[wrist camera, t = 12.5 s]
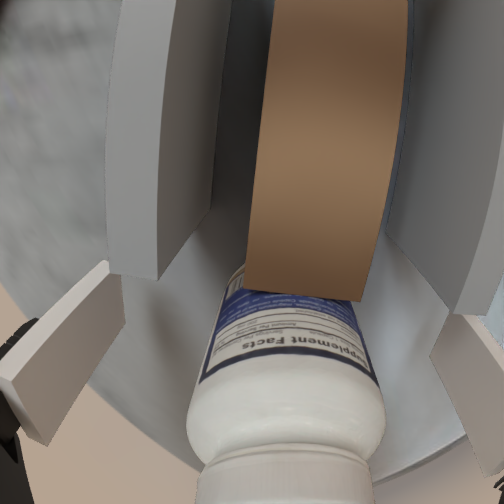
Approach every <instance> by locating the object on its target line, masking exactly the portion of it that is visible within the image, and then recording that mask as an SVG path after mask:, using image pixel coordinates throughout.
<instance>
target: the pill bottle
mask: <svg viewBox="0 0 504 504" xmlns="http://www.w3.org/2000/svg"><path fill="white" fill-rule="evenodd" d="M244 271H245V264H243V265H242V266H241V267H240V268H239V269H238V270H237V271H236V272H235V273H234V274H233V275H232V277H231V278H230V280H229V282H228V284H227V286H226V288H225V291H224V294H223V297H222V300H221V303H220V306H219V309H218V312H217V316H216V319H215V322H214V325H213V329H212V332H211V335H210V339H209V342H208V346H207V349H206V352H205V356H204V359H203V362H202V366H201V368H200V371H199V375H198V379H197V382H196V385H195V389H194V392H193V395H192V399H191V402H190V405H189V409H188V413H187V420H186V430H187V436H188V439H189V442H190V445H191V447H192V449H193V450H194V452H195V453H196V455H197V456H198V457H199V459H200V460H201V461H202V462H203V463H204V464H205V465H206V466H205V467H204V469H203V471H202V473H201V474H200V476H199V478H198V482H197V494H196V499H195V504H375V500H374V492H373V487H372V479H371V475H370V468H369V466H368V464H367V462H366V461H367V460H368V459H369V458H370V457H371V456H372V454H373V453H374V452H375V450H376V449H377V447H378V446H379V444H380V442H381V440H382V438H383V435H384V432H385V427H386V412H385V407H384V402H383V397H382V394H381V391H380V387H379V384H378V381H377V378H376V375H375V372H374V370H373V367H372V364H371V360H370V357H369V355H368V352H367V348H366V345H365V342H364V339H363V336H362V332H361V330H360V327H359V324H358V322H357V319H356V316H355V314H354V311H353V308H352V305H351V302H350V301H347V300H337V299H328V298H319V297H310V296H301V295H292V294H284V293H276V292H267V291H259V290H252V289H244V288H243V280H244Z"/></svg>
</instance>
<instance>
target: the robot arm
mask: <svg viewBox="0 0 504 504" xmlns="http://www.w3.org/2000/svg"><path fill="white" fill-rule="evenodd" d="M125 323H126V322H125V314H124V305H123V295H122V285H121V275H118V274H112V273H110V271H109V261H104V260H102V261H101V262H100V263H99V264H98V265H97V266H95V267H94V268H93V269H92V270H91V271H90V272H89V273H88V274H87V275H85V276H84V277H83V278H82V279H81V280H80V281H79V282H78V283H77V284H76V285H75V286H74V287H72V288H71V289H70V290H69V291H68V292H67V293H66V294H65V295H64V296H63V297H62V298H61V299H60V300H59V301H58V302H57V303H56V304H55V305H54V306H53V307H52V308H50V309H49V310H48V311H47V312H46V313H45V314H44V315H43V316H42V317H41V318H40V319H38V318H34V319H32V320H30V321H28V322H27V323H25V324H23V325H22V326H21V327H20V328H19V329H18V330H17V331H16V332H15V333H14V335H13V336H11V337H10V338H9V339H8V340H7V341H6V344H5V343H4V344H3V345H2V346H1V347H0V504H34V501H33V497H32V493H31V490H30V486H29V482H28V478H27V474H26V470H25V466H24V461H23V456H22V451H21V446H20V440H19V437H18V435H17V433H16V431H17V430H18V429H19V427H20V426H21V427H22V429H23V430H24V432H25V433H26V435H27V436H28V437H29V438H31V439H33V440H35V441H37V442H39V443H41V444H43V445H45V446H48V445H49V443H50V442H51V440H52V438H53V436H54V435H55V433H56V431H57V429H58V428H59V426H60V425H61V423H62V421H63V420H64V418H65V416H66V415H67V413H68V411H69V410H70V408H71V406H72V405H73V403H74V401H75V399H76V398H77V396H78V395H79V393H80V392H81V390H82V389H83V387H84V385H85V384H86V382H87V381H88V379H89V378H90V376H91V374H92V373H93V371H94V370H95V368H96V367H97V365H98V364H99V362H100V361H101V359H102V358H103V356H104V354H105V353H106V351H107V350H108V348H109V347H110V345H111V344H112V342H113V341H114V339H115V338H116V336H117V335H118V334H119V332H120V331H121V329H122V328H123V326H124V325H125ZM429 357H430V359H431V361H432V363H433V365H434V367H435V368H436V370H437V372H438V374H439V376H440V378H441V380H442V382H443V384H444V386H445V388H446V390H447V392H448V395H449V397H450V399H451V401H452V403H453V405H454V407H455V409H456V411H457V414H458V416H459V418H460V420H461V422H462V425H463V427H464V429H465V432H466V434H467V436H468V438H469V441H470V443H471V446H472V448H473V450H474V453H475V455H476V458H477V460H478V463H479V465H480V468H481V470H482V473H483V476H484V478H486V477H488V476H492V475H495V474H498V473H500V472H501V471H502V470H503V469H504V351H503V349H502V348H501V347H500V345H499V344H498V343H497V341H496V340H495V339H494V338H493V336H492V335H491V334H490V332H489V331H488V330H487V329H486V327H485V326H484V325H483V324H482V322H481V321H480V320H479V319H478V318H477V316H476V315H464V314H453V313H452V312H451V311H450V312H449V314H448V316H447V319H446V321H445V323H444V326H443V328H442V330H441V332H440V335H439V337H438V339H437V341H436V343H435V345H434V347H433V350H432V352H431V354H430V356H429ZM502 482H504V476H503V477H502V478H501V479H500V480H499V481H498V482H496V484H495V485H494V488H497V487H498V486H499V485H500V484H501V483H502ZM499 490H500V491H502V494H501V497H500V500H499V504H504V485H502V486H501V487H500V488H499Z"/></svg>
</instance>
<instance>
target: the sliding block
mask: <svg viewBox="0 0 504 504" xmlns="http://www.w3.org/2000/svg"><path fill="white" fill-rule="evenodd" d="M407 25H408V0H275V4H274V12H273V21H272V29H271V38H270V46H269V55H268V64H267V72H266V81H265V90H264V99H263V107H262V116H261V125H260V134H259V143H258V152H257V161H256V170H255V179H254V188H253V197H252V206H251V215H250V225H249V234H248V243H247V252H246V262H245V271H244V280H243V288H244V289H252V290H259V291H267V292H276V293H284V294H292V295H301V296H310V297H319V298H328V299H337V300H347V301H357V302H360V301H361V297H362V294H363V291H364V287H365V284H366V280H367V277H368V273H369V269H370V266H371V262H372V258H373V254H374V250H375V246H376V242H377V238H378V234H379V230H380V225H381V221H382V216H383V212H384V207H385V202H386V198H387V193H388V188H389V183H390V177H391V172H392V166H393V160H394V154H395V148H396V142H397V135H398V128H399V121H400V113H401V105H402V96H403V86H404V76H405V63H406V48H407Z"/></svg>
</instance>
